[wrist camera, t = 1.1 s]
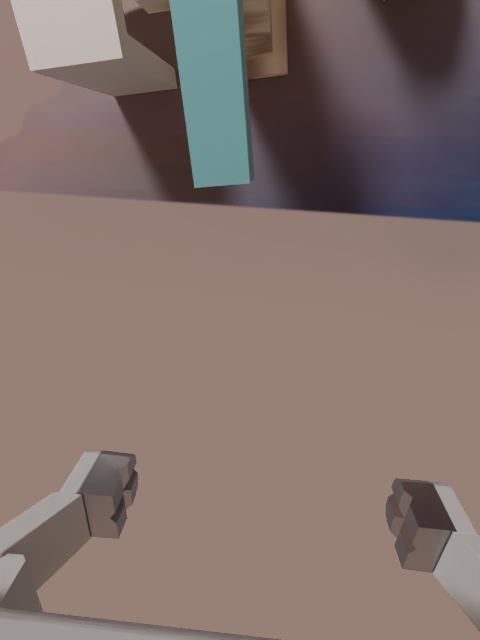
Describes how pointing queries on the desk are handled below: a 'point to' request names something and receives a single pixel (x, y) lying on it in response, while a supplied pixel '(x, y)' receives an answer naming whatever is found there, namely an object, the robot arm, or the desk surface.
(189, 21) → the teal rectangular bar
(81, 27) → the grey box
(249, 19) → the birch shelf
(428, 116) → the desk surface
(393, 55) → the desk surface
